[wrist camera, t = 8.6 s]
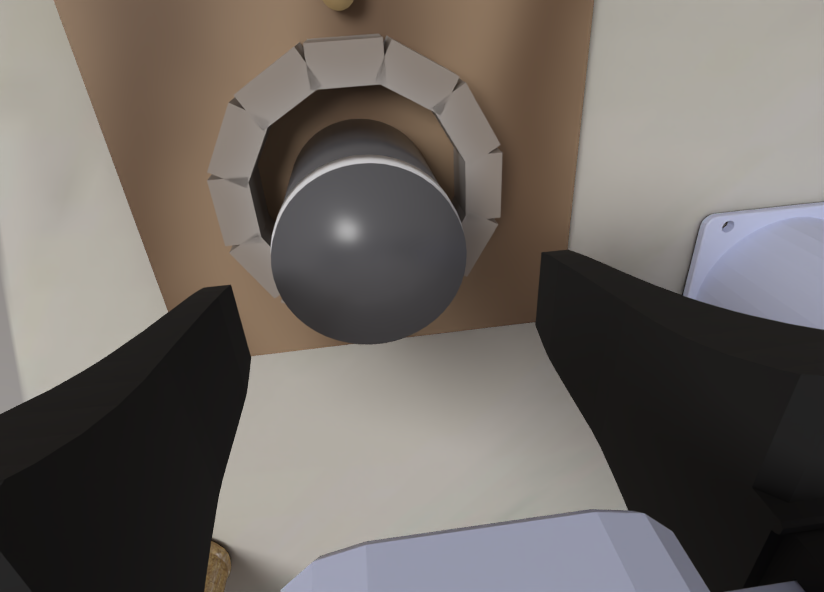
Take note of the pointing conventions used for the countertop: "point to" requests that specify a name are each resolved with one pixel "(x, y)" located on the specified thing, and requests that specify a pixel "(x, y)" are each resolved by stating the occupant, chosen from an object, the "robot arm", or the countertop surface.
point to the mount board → (327, 104)
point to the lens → (366, 236)
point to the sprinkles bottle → (217, 569)
